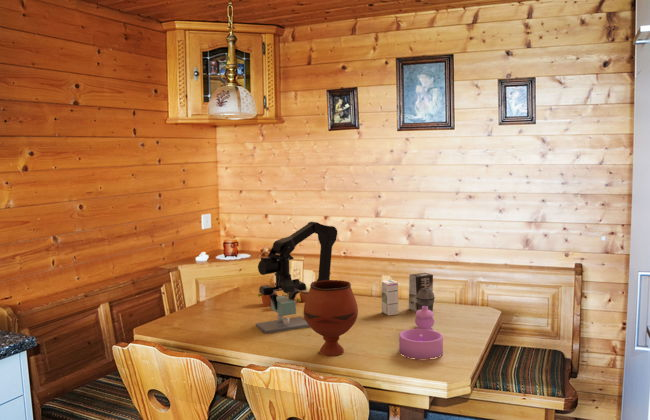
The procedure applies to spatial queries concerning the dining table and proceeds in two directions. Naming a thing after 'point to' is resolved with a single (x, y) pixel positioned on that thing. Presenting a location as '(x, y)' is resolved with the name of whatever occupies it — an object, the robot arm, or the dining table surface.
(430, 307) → the beverage cup
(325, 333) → the goblet
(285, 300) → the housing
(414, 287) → the coffee box
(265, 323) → the plate
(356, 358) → the dining table surface
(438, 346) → the container set
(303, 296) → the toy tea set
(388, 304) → the syrup box
